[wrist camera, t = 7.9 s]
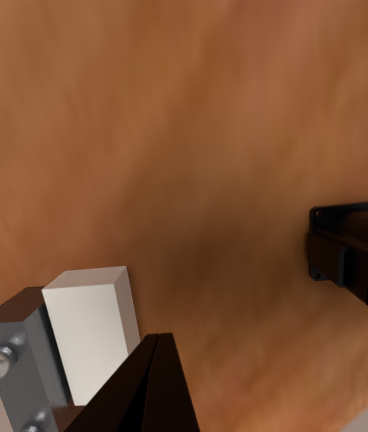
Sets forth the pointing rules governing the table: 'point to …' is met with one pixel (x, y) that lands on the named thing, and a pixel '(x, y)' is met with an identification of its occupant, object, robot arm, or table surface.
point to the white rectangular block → (92, 325)
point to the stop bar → (32, 367)
